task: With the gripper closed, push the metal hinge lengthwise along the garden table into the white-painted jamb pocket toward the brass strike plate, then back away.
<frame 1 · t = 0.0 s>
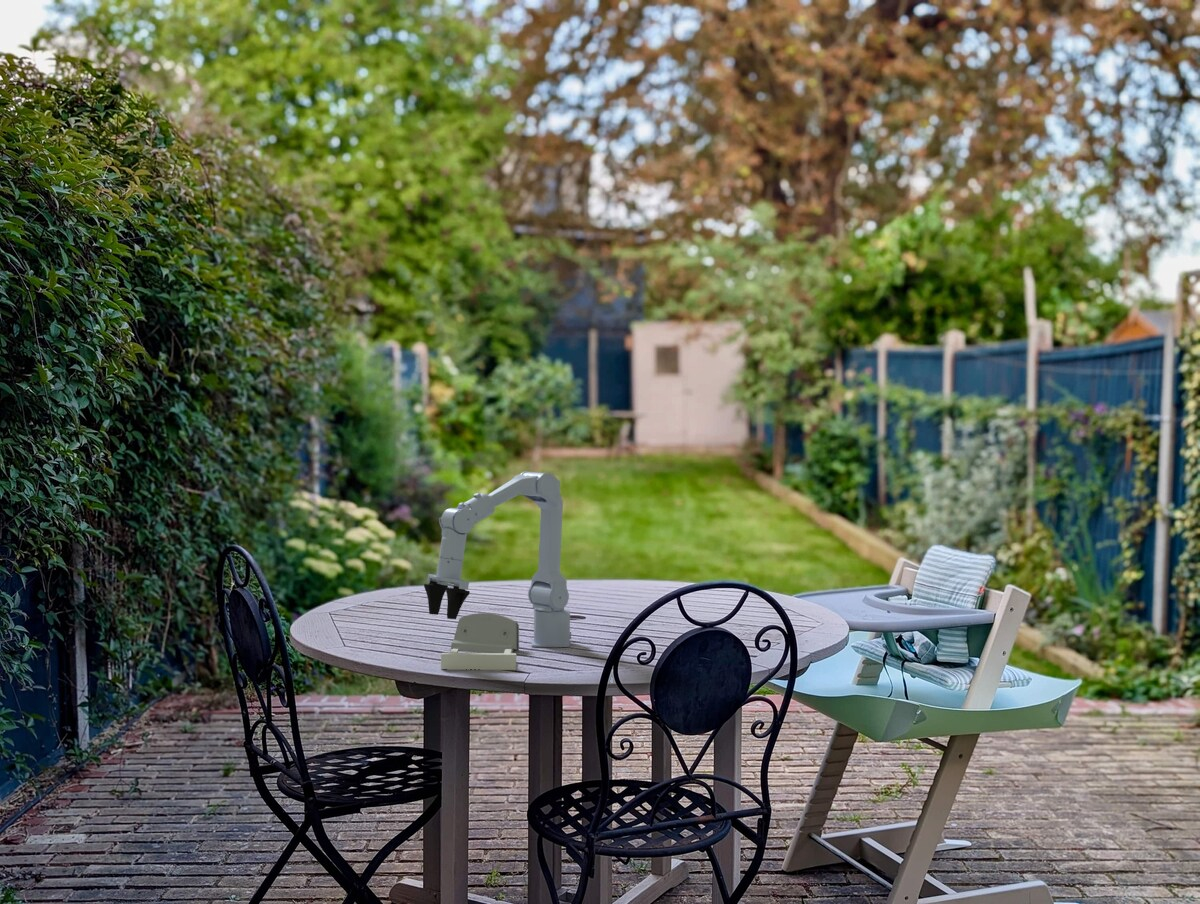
hand: (442, 616, 264), 11 cm above the table, tool pointing down, fingers open, 7 cm apart
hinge: (486, 650, 279), on the table
jamb pocket: (480, 664, 261), on the table
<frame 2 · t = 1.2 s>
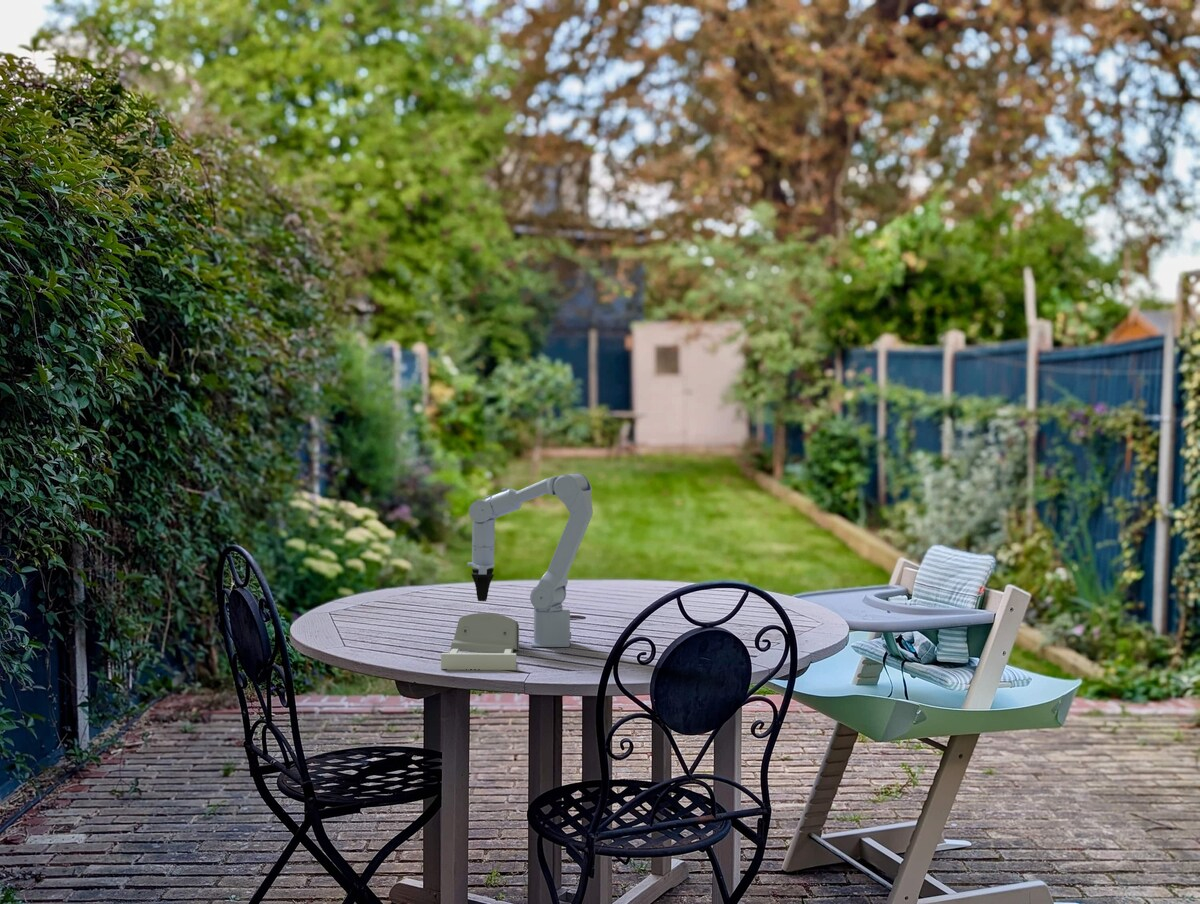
hand: (482, 598, 292), 11 cm above the table, tool pointing down, fingers open, 7 cm apart
nothing on the table moved.
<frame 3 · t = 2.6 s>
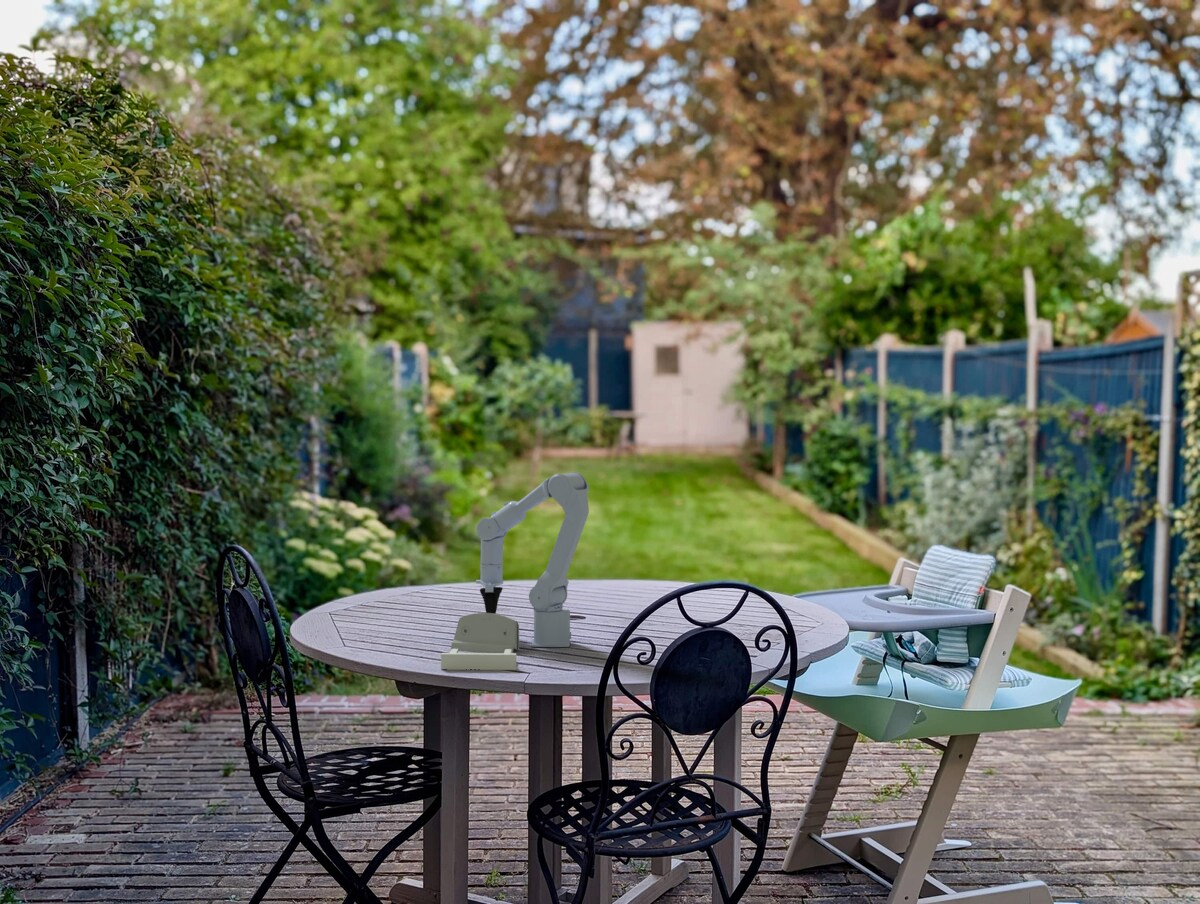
hand: (491, 615, 293), 6 cm above the table, tool pointing down, fingers closed
nothing on the table moved.
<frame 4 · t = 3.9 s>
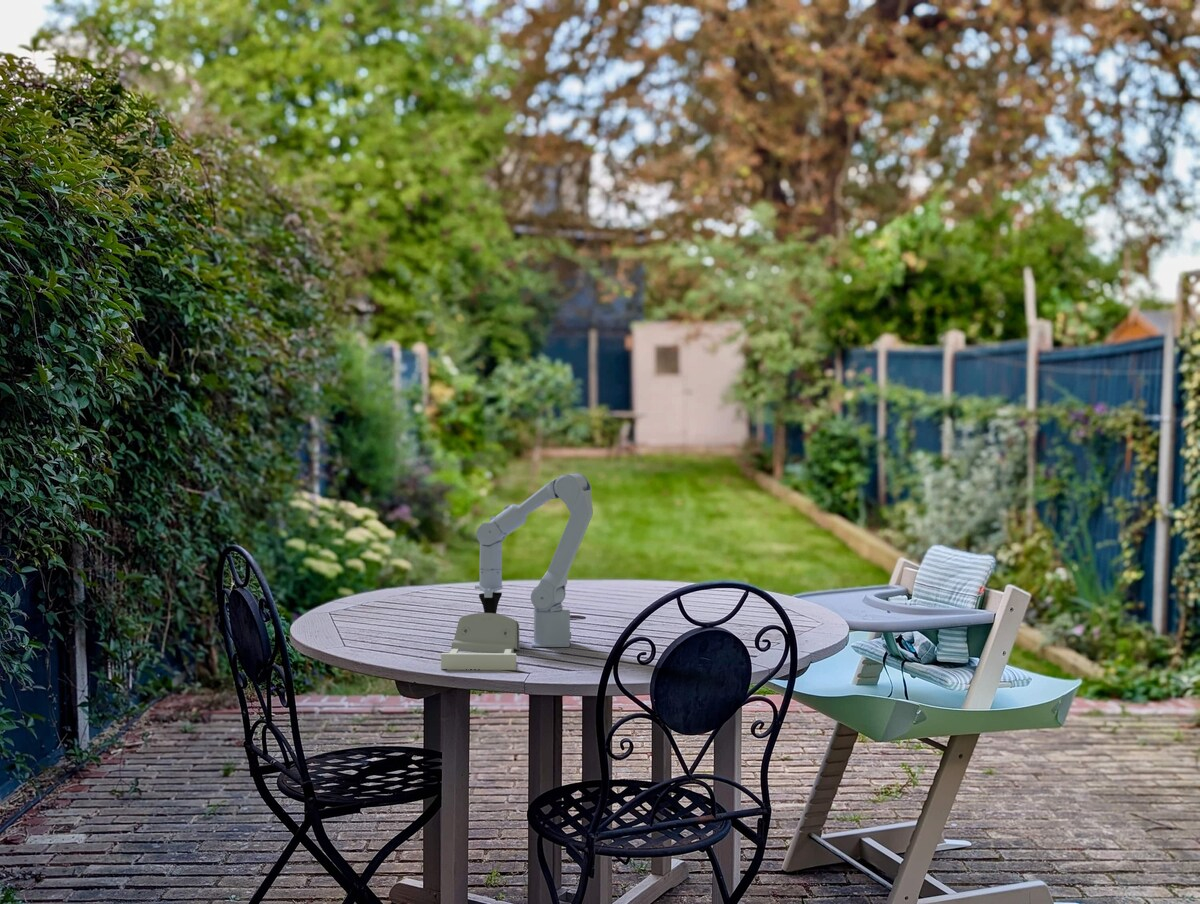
hand: (490, 621, 290), 5 cm above the table, tool pointing down, fingers closed
nothing on the table moved.
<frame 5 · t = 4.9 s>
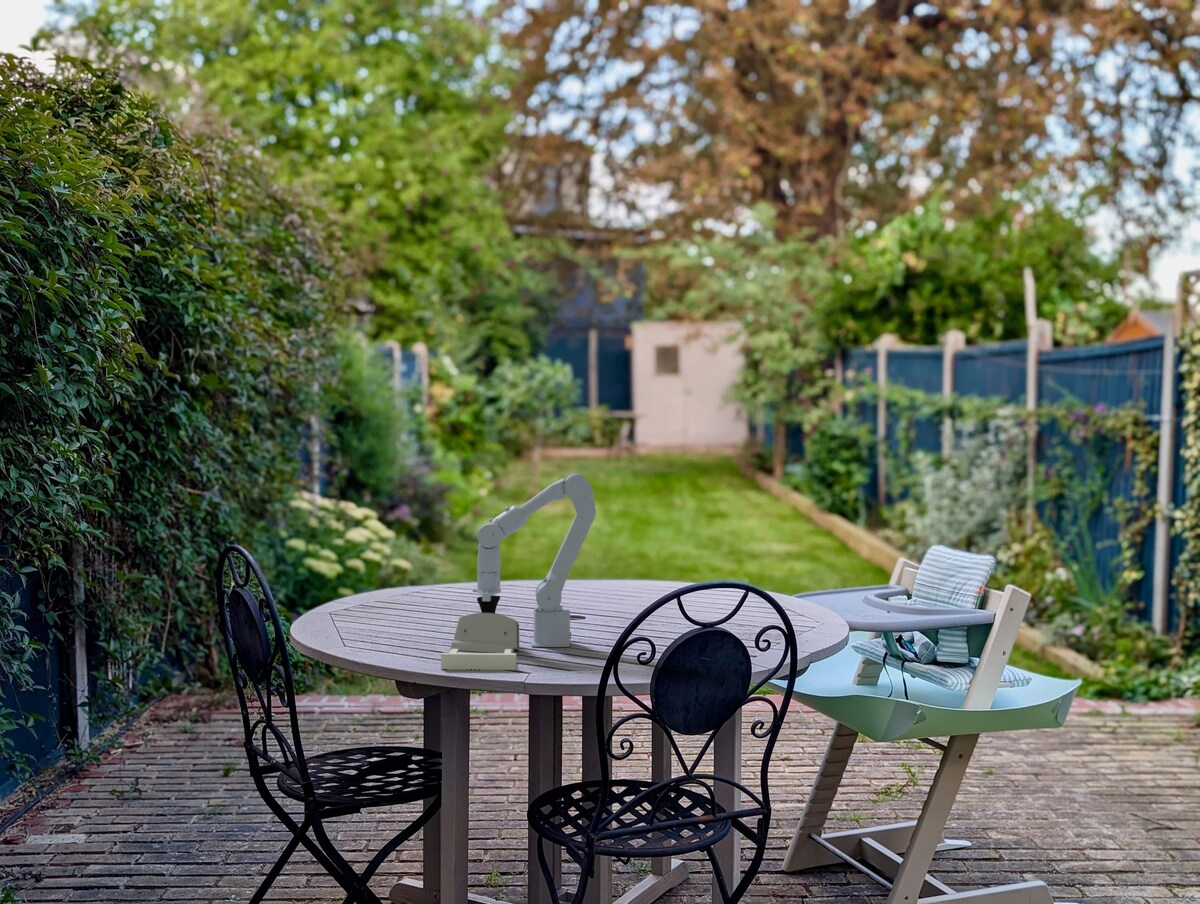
hand: (488, 625, 284), 5 cm above the table, tool pointing down, fingers closed
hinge: (486, 650, 279), on the table, touching gripper
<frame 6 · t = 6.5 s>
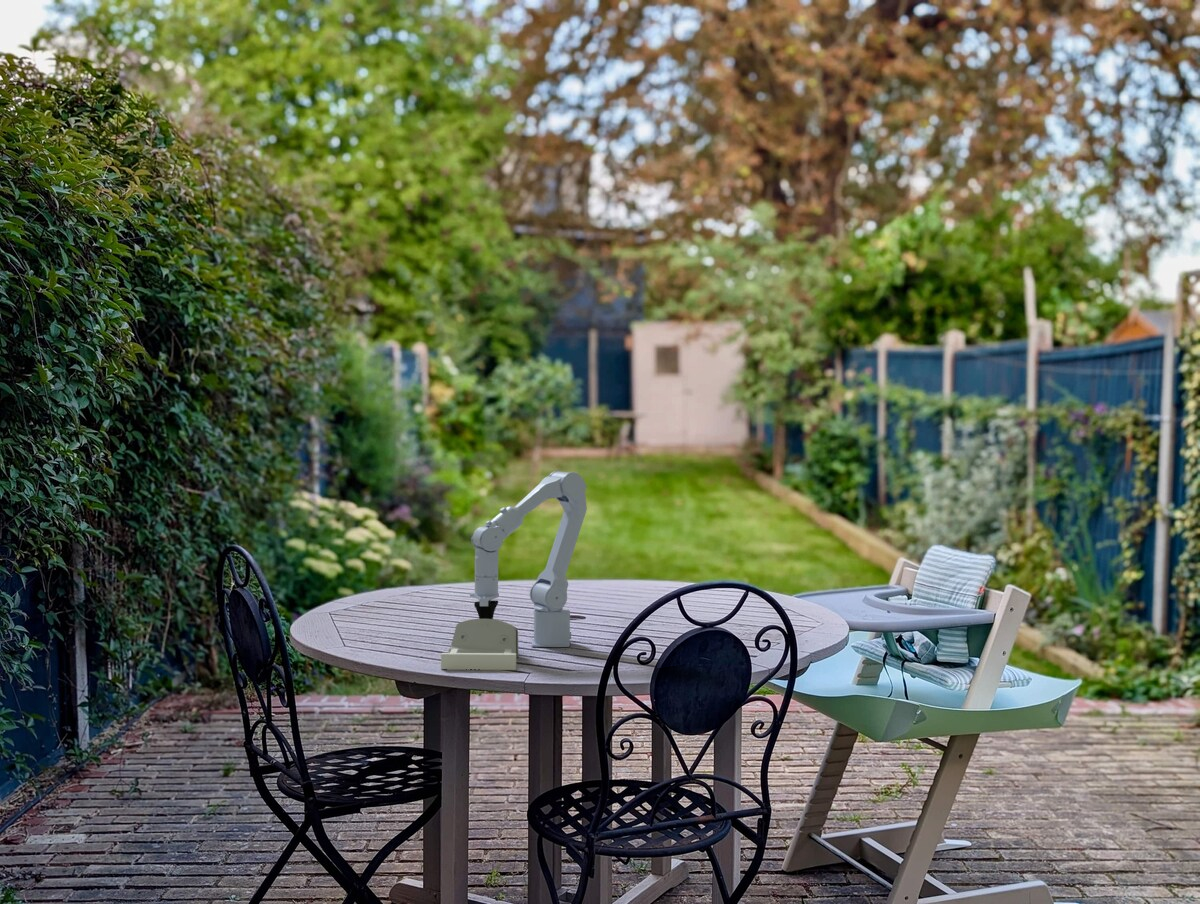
hand: (486, 630, 277), 5 cm above the table, tool pointing down, fingers closed
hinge: (484, 657, 272), on the table, touching gripper
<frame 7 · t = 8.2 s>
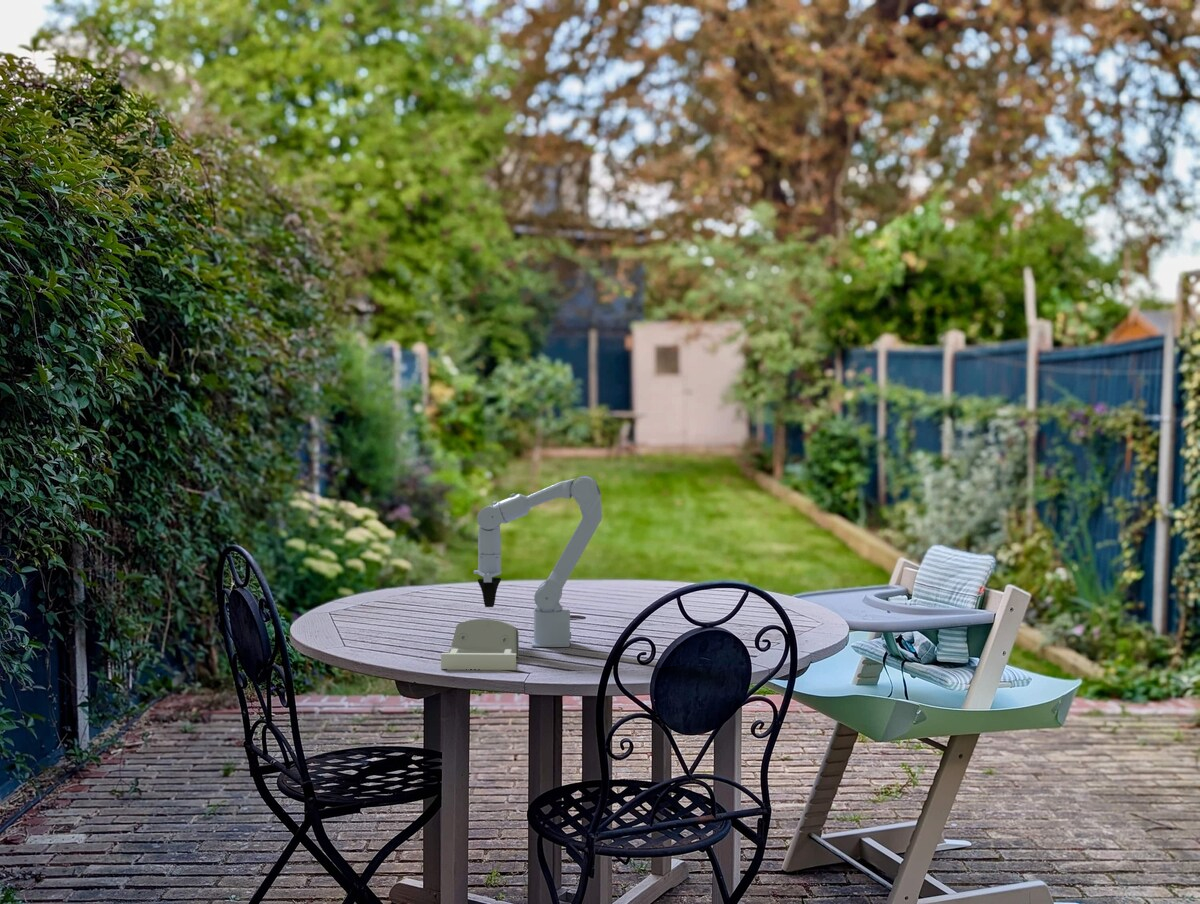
hand: (489, 606, 286), 9 cm above the table, tool pointing down, fingers closed
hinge: (485, 657, 271), on the table
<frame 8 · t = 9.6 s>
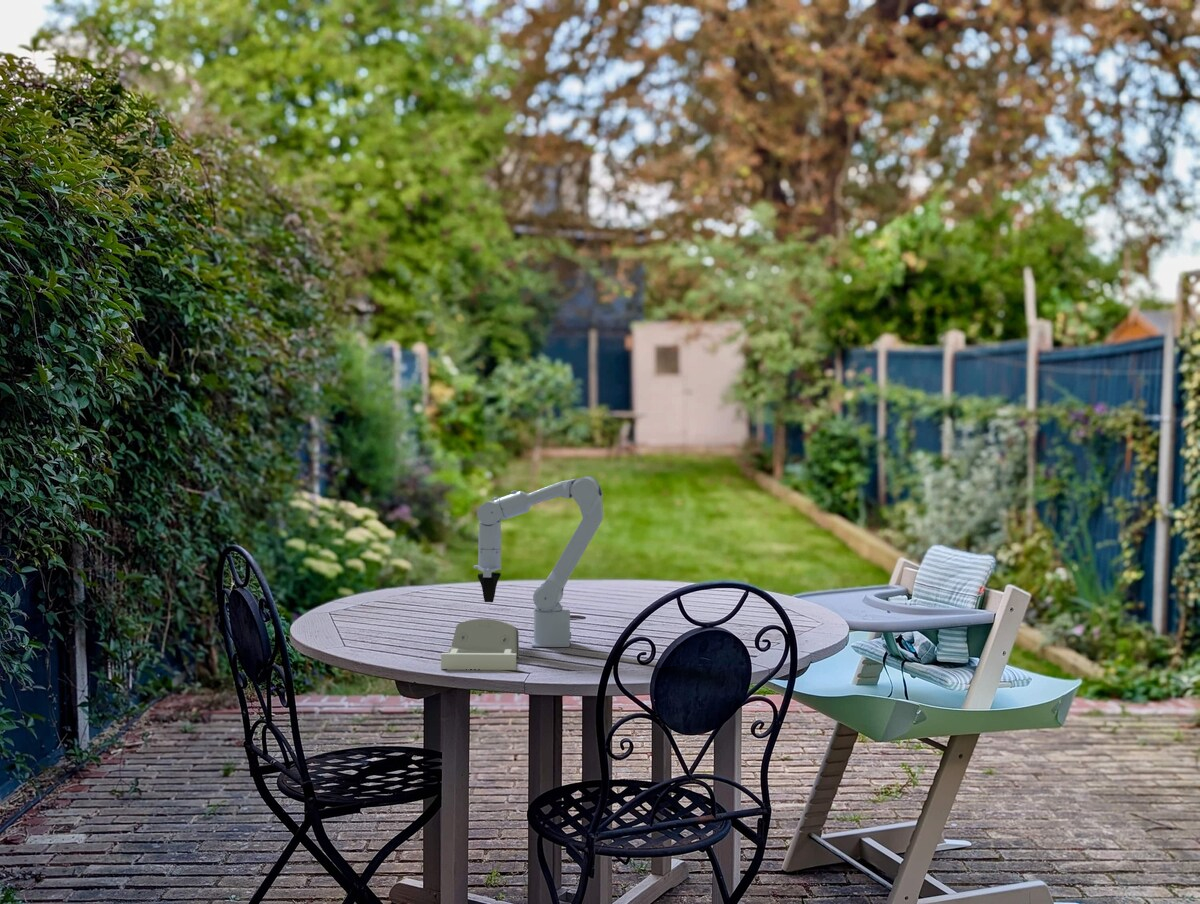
hand: (488, 601, 287), 10 cm above the table, tool pointing down, fingers closed
nothing on the table moved.
at the end: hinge inside the target area (0.4 cm from its centre), on the table; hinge tilted 1°; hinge moved 8.0 cm from its start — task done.
